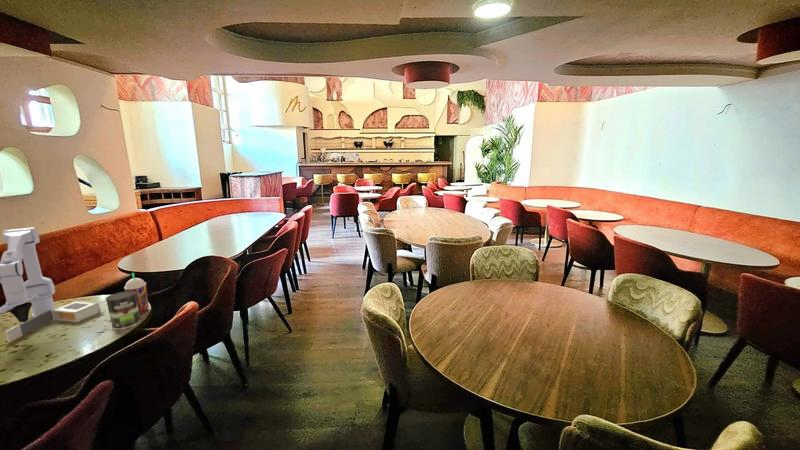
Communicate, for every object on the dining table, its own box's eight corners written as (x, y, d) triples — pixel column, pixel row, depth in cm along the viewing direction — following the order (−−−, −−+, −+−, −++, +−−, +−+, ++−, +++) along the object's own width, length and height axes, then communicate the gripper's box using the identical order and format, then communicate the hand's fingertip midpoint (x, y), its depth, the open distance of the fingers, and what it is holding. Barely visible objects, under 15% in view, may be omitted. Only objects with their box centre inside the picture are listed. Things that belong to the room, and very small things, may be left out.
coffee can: (143, 323, 150) (137, 294, 147) (114, 332, 143) (107, 302, 140) (138, 316, 157) (133, 288, 154) (110, 324, 150) (104, 295, 147)
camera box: (78, 310, 165) (76, 300, 164) (101, 312, 162) (98, 302, 161) (54, 319, 155) (51, 309, 154) (78, 322, 152) (75, 311, 151)
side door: (53, 319, 155) (51, 309, 154) (10, 341, 136) (6, 331, 135) (51, 319, 155) (49, 310, 154) (8, 341, 136) (4, 331, 135)
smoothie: (154, 310, 163) (146, 271, 159) (133, 317, 156) (125, 277, 152) (146, 306, 168) (139, 269, 163) (126, 312, 161) (118, 274, 156)
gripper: (22, 284, 141) (30, 313, 144) (-16, 299, 127) (-6, 331, 130) (40, 283, 142) (48, 312, 145) (4, 298, 128) (14, 329, 131)
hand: (23, 321), depth 138 cm, fingers closed
